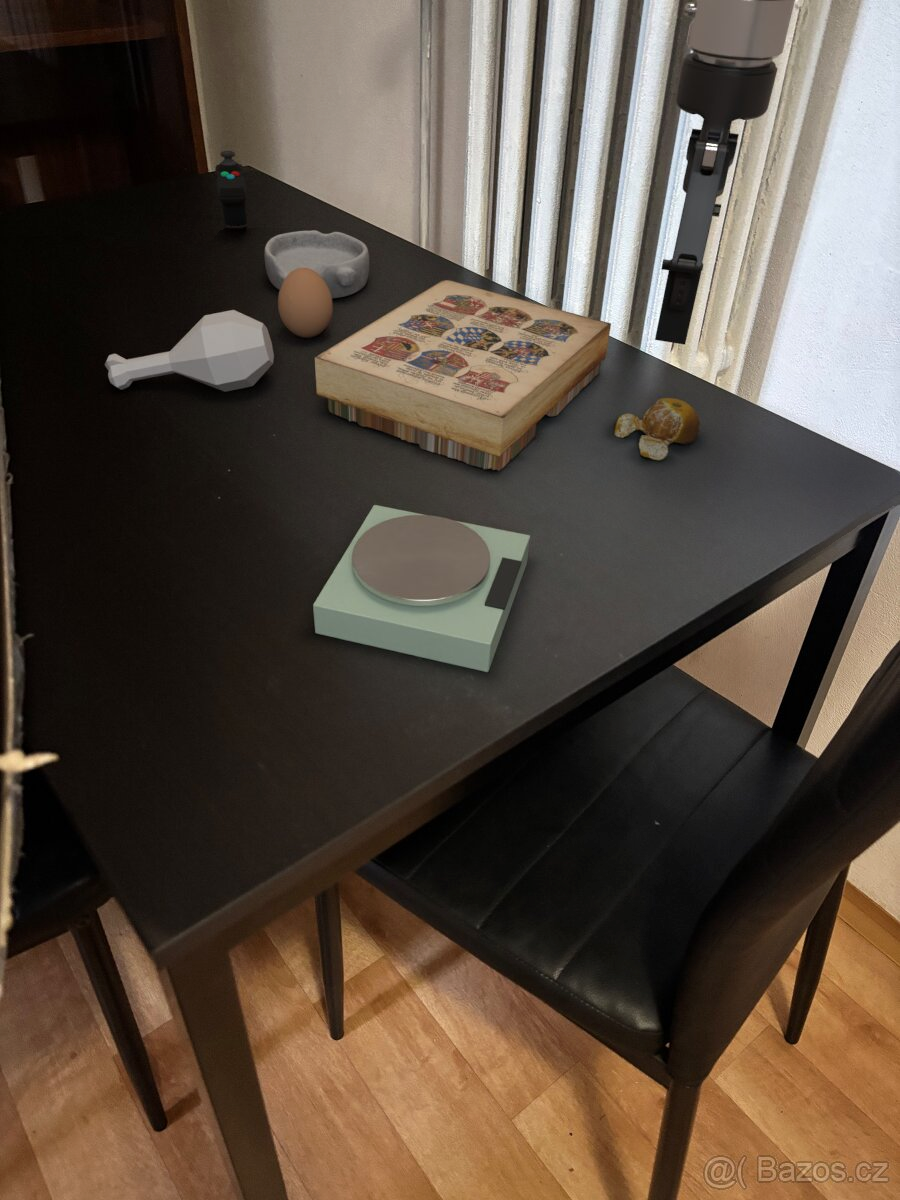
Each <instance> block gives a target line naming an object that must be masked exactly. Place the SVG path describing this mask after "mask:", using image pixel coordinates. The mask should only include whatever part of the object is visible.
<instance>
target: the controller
mask: <svg viewBox="0 0 900 1200" xmlns="http://www.w3.org/2000/svg"><path fill="white" fill-rule="evenodd" d="M235 156H236V153H235V152H234V150H222V151H221V152H220V157H222V158H224V159H223V160H222V161H221V162H220V163H219V164H216V166H215V169H214V176H215V177H216V189H217V195H218V199H219V201H220V203H221V208H222V217H223V222H224V223H223V224H224V227H225V229H227V230H228V231H243V230H244V229H246V228H247V227H248V219H247V217H248V216H247V207H246V200H247V182H246V180H245V176H246V171H245V169H244V166H243V165H242V164H241V163H238V162H237V161H236V160H234V159H233V158H234V157H235ZM225 224H226V225H230V226H232V225H233V226H235V225H236V226H240V225H245V224H247V226H246V227H243V228H227V227H226V226H225Z"/></svg>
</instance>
